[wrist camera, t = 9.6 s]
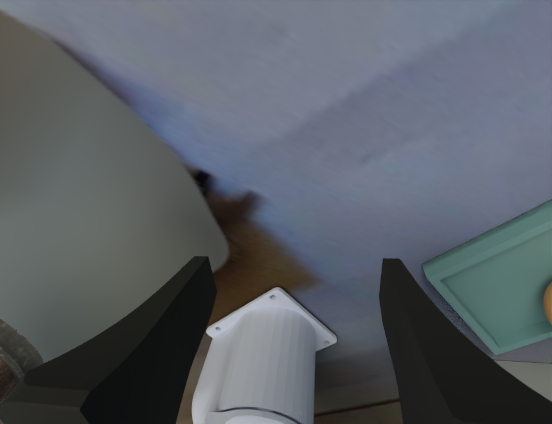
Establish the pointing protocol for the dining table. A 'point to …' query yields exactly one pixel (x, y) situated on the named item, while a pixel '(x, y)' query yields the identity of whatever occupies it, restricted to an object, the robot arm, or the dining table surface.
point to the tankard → (15, 358)
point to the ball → (548, 302)
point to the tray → (501, 280)
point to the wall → (532, 375)
